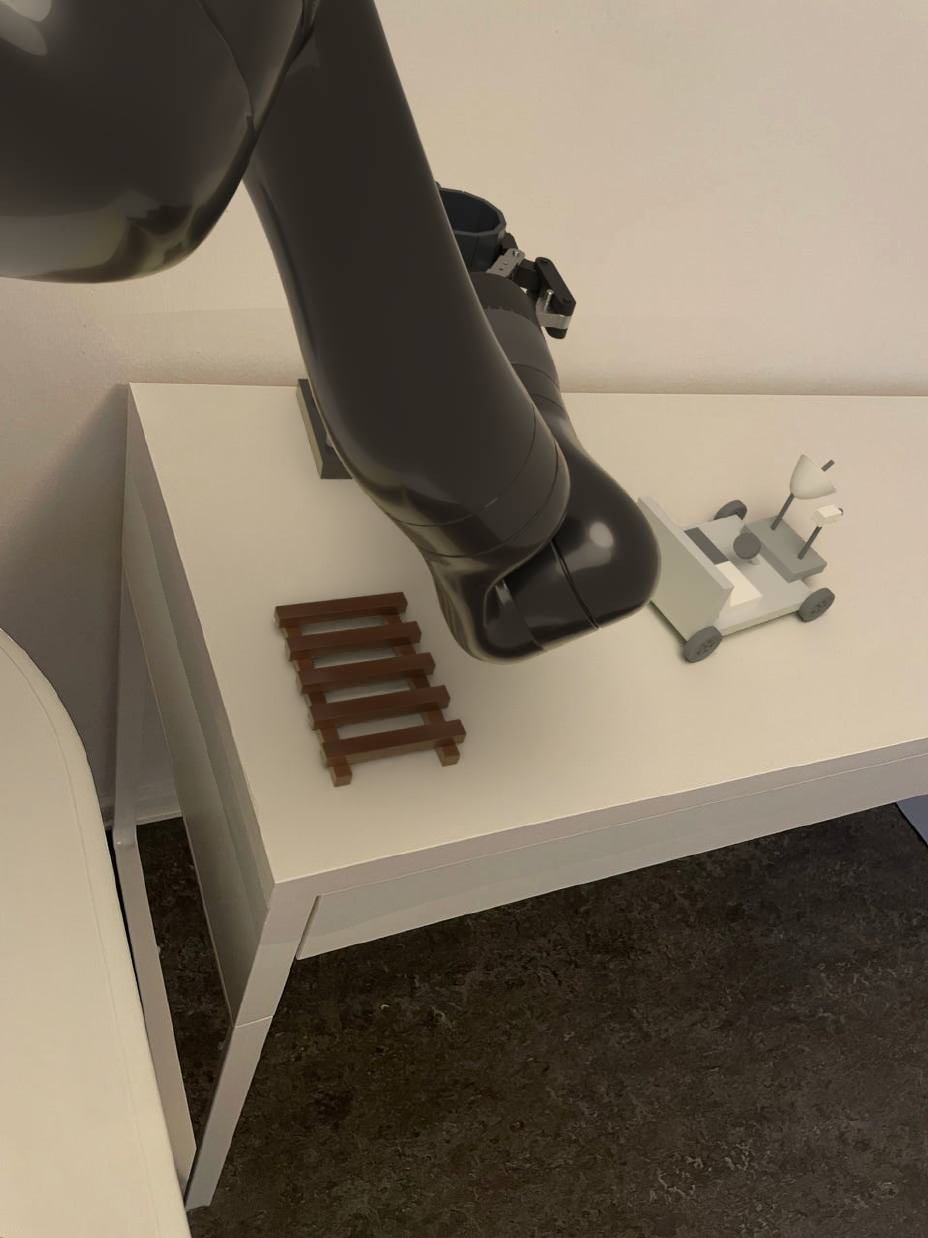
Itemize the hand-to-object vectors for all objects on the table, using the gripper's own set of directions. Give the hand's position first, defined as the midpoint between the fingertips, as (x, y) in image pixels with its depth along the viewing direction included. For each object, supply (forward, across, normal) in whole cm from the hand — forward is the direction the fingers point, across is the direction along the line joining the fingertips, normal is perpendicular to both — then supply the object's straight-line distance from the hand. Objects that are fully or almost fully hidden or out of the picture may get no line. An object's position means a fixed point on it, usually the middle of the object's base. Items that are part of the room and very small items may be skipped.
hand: (444, 229), depth 70 cm
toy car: (-13, -25, +20) cm, 35 cm away
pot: (+1, 0, +6) cm, 7 cm away
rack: (-24, +5, +20) cm, 32 cm away
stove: (+3, -1, +20) cm, 20 cm away
